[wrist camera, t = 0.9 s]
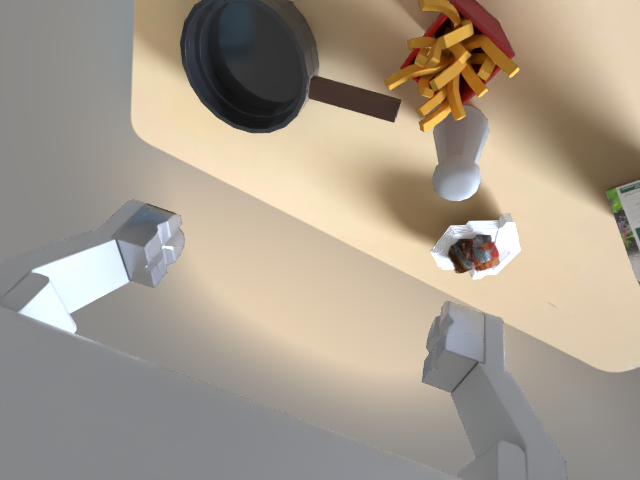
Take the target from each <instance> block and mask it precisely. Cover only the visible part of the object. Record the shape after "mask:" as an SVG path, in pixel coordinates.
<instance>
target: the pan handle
mask: <svg viewBox="0 0 640 480" xmlns="http://www.w3.org/2000/svg"><path fill="white" fill-rule="evenodd" d="M308 98H309V99H313V100H316V101H320V102H323V103H327V104H331V105H334V106H338V107H341V108H345V109H348V110H352V111H355V112H359V113H362V114H366V115H369V116H373V117H376V118H380V119H383V120H387V121H390V122H395V120H396V117H397V114H398V110H399V107H400V104H401V99H398V98H394V97H390V96H387V95H383V94H380V93H376V92H372V91H369V90H365V89H362V88H358V87H354V86H351V85H347V84H344V83H340V82H336V81H333V80H329V79H326V78H322V77H318V76H315V75H313V77H312V78H311V79H310V86H309V94H308Z"/></svg>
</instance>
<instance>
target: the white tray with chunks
mask: <svg viewBox="0 0 640 480" xmlns="http://www.w3.org/2000/svg"><path fill="white" fill-rule="evenodd" d="M488 234H489V236H488V238H485V237H484V235H488ZM478 235H483V237H481V236H478ZM483 238H484V239H486V240H487V243H486V242H485V241H484V240H483ZM482 240H483V241H482ZM518 241H519V238H518V234H517V230H516V226H515V222H514V220H513V218H512V216H511V214H510V213H502V214H501V216H500V217H499V219H498V220H487V221H468V222H467V224H466V225H450V226H449V228H448V229H447V230H446V231H445V233H444V234H443V235H442V237H441V238H440V239H439V241H438V242H437V243H436V245H435V246H434V247H433V248H432V250H431V253H432V255H433V257H434V258H435V260H436V262H437V264H438V266H441V268H442V269H454V270H455V271H456V272H455V273H457V271H458V272H459V273H464V272H466V271H469V273H470V275H471V278H472V279H481V278H482V277H483V276H484V275H495V274H497V273H498V272H499V271H500V270H501V269H502V268H503V267H504V266H505V265H506V264H507V263H508V262H509V261H510V260H511V259H512V258H513V257H514V256H515V255H516V254H517V253H518V252H519V251H520V246H519V242H518ZM462 270H463V271H462ZM457 274H458V273H457Z"/></svg>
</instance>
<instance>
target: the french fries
mask: <svg viewBox="0 0 640 480" xmlns="http://www.w3.org/2000/svg"><path fill="white" fill-rule="evenodd" d="M418 3H419V6H420V9H421V11H437V12H442V13H441V14H440V15H439V17H438V18H437V19H436V20H435V22H434V23H433V24H432V25H431V27H430V28H429V29H428V30H427V32H426V33H425V34H424V36H423V37H420V38H414V39H410V40H408V41H407V42H408V48H409V50H410V49H414V50H413V51H412V52H411V54H410V55H409V57H408V58H407V59H406V61H405V62H404V64H403V65H402V66H401V68H400V69H401V70H400V71H398V72H396V73H394V74H393V75H391V76H389V77H388V78H386V79H384V82H385V85H386V86H387V88H388V89H389V91H390V90H392V89H393V88H395V87H396V86H398V85H400V84H401V83H403V82H405V81H407V80H409V79H411V78H412V79H413V80H415V81H416V82H417V83H418V94H420V95H422V96H425V97H428V98H430V99H429V100H428V101H427V102H425V103H424V104H423V105H422V106H420V107H419V108H418V109H417V110H416V111H417V113H418V114H419V116H420V117H424V116H425V115H426V114H428V113H429V112H430V111H431V110H433V109H434V108H435V107H436V106H437V105H439V104H440V103H442V105H441V106H440V107H439V108H438V109H437V110H436V111H435V112H433V113H432V114H431V115H429V116H428V117H426V118H425V119H423V120H421V121H420V122H419V125H420V130H422V131H423V132H426V131H428V130H429V129H431V128H432V127H434V126H435V125H437V124H438V123H439V122H441V121H442V120H443V119H444V118H446V117H447V115H448V114H449V113H450V111H451V112H452V114H453V117H454V120H455V121H456V120H460V119H462V118H463V117H465V116H467V115H466V113H465V110H464V107H463V106H464V105H465V104H466V103H467V102H468V101H469V100H470V99H471V98H472V97H473V96H474V95H475V94H476V95H477V96H478V97H481V96H482V95H484V94H485V93H486V92H487V91H488V89H487V87H486V86H485V84H486V83H487V82H488V81H489V80H490V79H491V78H492V77H493V76H494V75H495V74H496V73H497V72H498V71H499V70H500V69H502V70H503V71H504V72H505V73H506V74H507V75H508V76H509V77H510V78H511V77H513V76H514V75H515V74H516V73H517V72H518V71H519V70H520V69H519V67H518V66H517V65H516V64H515V63H513V62H512V61H511V59H512V58H513V57H514V56H515V54H514V52H513V50H512V48H511V45H510V43H509V41H508V39H507V37H506V35H505V33H504V31H503V29H502V27H501V25H500V23H499V22H498V21H497V20H496V19H495V18H494V17H493V16H492V15H491V14H489V13H488V12H487V11H486V10H485V9H484V8H483V7H482V6H481V5H480V4H479V3H477V2H476V1H475V0H451V2H450V3H449V2H448V1H447V0H420V1H419V2H418ZM432 96H433V97H432Z"/></svg>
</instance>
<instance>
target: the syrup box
mask: <svg viewBox="0 0 640 480" xmlns="http://www.w3.org/2000/svg"><path fill="white" fill-rule="evenodd" d="M606 194H607V197H608V200H609V203H610V206H611V208H612V211H613V214H614V217H615V220H616V223H617V225H618V228H619V231H620V234H621V237H622V240H623V242H624V245H625V248H626V251H627V254H628V257H629V260H630V263H631V266H632V269H633V271H634V274H635V277H636V279H637V281H638V283H639V285H640V180H637V181H634V182H631V183H628V184H625V185H622V186H619V187H616V188H613V189H610V190H607V191H606Z"/></svg>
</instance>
